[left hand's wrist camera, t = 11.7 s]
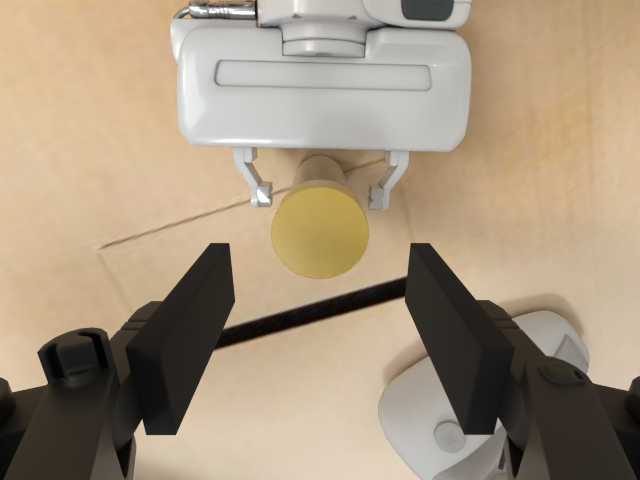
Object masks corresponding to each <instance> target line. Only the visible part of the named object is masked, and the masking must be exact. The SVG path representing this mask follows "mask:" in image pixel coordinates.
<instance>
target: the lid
mask: <svg viewBox="0 0 640 480" xmlns="http://www.w3.org/2000/svg"><path fill="white" fill-rule="evenodd" d="M271 237H272V243H273V247H274V249H275V252H276V254H277V255H278V257H279V258H280V260H281V261H282V262H283V263H284V264H285V265H286V266H287V267H288V268H289V269H291V270H292V271H294V272H295V273H297V274H299V275H302V276H305V277H309V278H314V279H326V278H332V277H336V276H338V275H341V274H343V273H345V272H346V271H348V270H349V269H351V268H352V267H353V266H354V265H355V264H356V263H357V262H358V261H359V260H360V258H361V257H362V255H363V254H364V252H365V250H366V247H367V244H368V238H369V229H368V223H367V219H366V217H365V214H364V212H363V209H362V207H361V205H360V203H359V201H358V199H357V198H356V197H355V195H354V194H353V193H352V192H351V191H350V190H349V189H347V188H346V187H345V186H343V185H341V184H339V183H336V182H334V181H330V180H323V179H319V180H310V181H306V182H304V183H301V184H299V185H297V186H296V187H294V188H293V189H291V190H290V191H289V192H288V193H287V194H286V195H285V197H284V198H283V199H282V201H281V203H280V205H279V207H278V209H277V212H276V214H275V216H274V219H273V223H272V229H271Z"/></svg>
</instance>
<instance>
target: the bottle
mask: <svg viewBox="0 0 640 480" xmlns="http://www.w3.org/2000/svg"><path fill="white" fill-rule="evenodd" d="M319 179H323V180H330V181H334V182H336V183H339V184H341V185H343V186H345V187H346V188H347V189H349V186H348V183H347V181H346V178H345V175H344V173H343V170H342V168H341V166H340V165H339V164H338V163H337V162H336V161H335V160H334V159H332V158H331V157H328V156H325V155H315V156H312V157H309V158H308V159H306V160H305V161H303V163H302V164H301V165H300V166H299V168H298V170H297V173H296V175H295V178H294V181H293V183H292V186H291V189H293V188H294V187H296V186H297V185H299V184H301V183H304V182H306V181H310V180H319ZM291 189H290V190H291ZM349 190H350V189H349Z"/></svg>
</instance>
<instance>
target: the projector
mask: <svg viewBox="0 0 640 480" xmlns="http://www.w3.org/2000/svg"><path fill="white" fill-rule="evenodd" d="M512 321H515V322H516V323H517V325H518V326H519V327H520V329H522V330H523V331H524V332H525V333H526V334H527V335H528V337H529V338H530V339H531V340H532V341H533V342H534V343H535V344H536V345H537V346H538V347H539V348H540V350H541V351H542V352H543V353H544V354H545V355H546V356H552V357H555V358H558V359H561V360H564V361H566V362H568V363H570V364H572V365H574V366H576V367H577V368H579V369H580V370H581V371H583V372H584V373H585V374H586V373H587V371H588V367H589V366H588V365H589V353H588V350H587V348H586V346H585V344H584V342H583V341H582V339H581V338H580V336H579V335H578V333H577V332H576V330H575V329H574V328H573V327H572V325H571V324H570V323H569V322H568V321H567V320H566V319H564V318H563V317H562V316H560V315H558V314H556V313H554V312H551V311H536V312H531V313H528V314H524V315H521V316H518V317H515V318H512ZM378 414H379V420H380V423H381V427H382V429H383V432H384V434H385V436H386V438H387V440H388V441H389V443H390V444H391V446H392V447H393V449H394V450H395V451H396V452H397V454H398V455H399V456H400V457H401V459H402V460H403V461H404V462H405V463H406V464H407V466H408V467H409V468H410V469H411V470H412V471H413V472H414V473H415V474H416V475H417V476H418V477H419V478H420V479H421V480H507V472H506V463H505V464H504V468H503V470H500V469H498V465H499V460H500V456H501V452H502V449H503V445H504V441H505V437H506V433H507V432H506V430H505V428H504V427H503V425H502V423H501V422H500V420H499V418H498V419H497V423H496V427H495V431H494V435H464V433H463V431H462V429H461V427H460V424H459V422H458V420H457V418H456V415H455V413H454V411H453V409H452V406H451V404H450V402H449V400H448V397H447V395H446V393H445V391H444V388H443V386H442V384H441V382H440V379H439V377H438V375H437V373H436V370H435V368H434V366H433V364H432V361H431V359H430V357H429V356H428V357H426V358H424V359H423V360H421V361H419V362H418V363H416V364H415V365H413V366H411V367H410V368H408V369H407V370H406V371H404V372H403V373H401V374H400V375H399V376H397V377H396V378H395V379H394V380H393V381H392V382H391V383H390V384H389V385H388V386H387V387H386V388H385V390H384V391H383V393H382V395H381V397H380V400H379V404H378Z"/></svg>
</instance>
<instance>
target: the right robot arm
mask: <svg viewBox="0 0 640 480" xmlns="http://www.w3.org/2000/svg"><path fill="white" fill-rule="evenodd" d="M471 3H472V0H256V1H249V0H247V1H236V0H233V1H225V2H224V1H223V2H210V1H209V0H193V1H190V2H189V4H188V7H185V8H183V9H181V10H179V11H178V12H177V13H176V15H175V16H174V17H173V19H172V21H171V24H170V38H171V46H172V54H173V57H174V61H175V63H176V65H177V66H178V70H177V116H178V127H179V131H180V133H181V134H182V135H183V136H184V138H185V139H186V140H187V141H188V142H189V143H190V144H191V145H193V146H221V147H233V157H234V164H235V165H236V167H237V168H238V170H239V171H240V173H241V174H242V176H243V178H244V179H245V181H246V182H247V184H248V185H250V191H251V205H252V207H271V205H272V203H273V195H272V193H271V192H272V190H273V187H272V182H267V181H262V179H261V178H260V176H259V174H258V172H257V171H256V169H255V167H254V166H253V164H252V162H253V161H254V160H255V159H257V147H263V148H305V149H347V150H386V153H385V161H386V162H387V163H388V164H389V165H390V167H389V168H388V170H387V171H386V173H385V175H384V176H383V178H382V179H381V181H380V182H379V184H369V189H368V192H369V194H370V195H369V197H368V207H369V209H370V210H388V209H389V203H390V193H391V189H393V187H394V186H395V185H396V183H397V182H398V180H399V179H400V178H401V176H402V175H403V173H404V172H405V171H406V169H407V168H408V164H409V156H410V151H430V152H450V151H452V150H453V149H455V148H456V146H457V145H458V144H459V143H460V142H461V141H462V140H463V138H464V137H465V134H466V129H467V123H468V117H469V108H470V98H471V81H472V61H471V54H470V51H469V48H468V45H467V43H466V42H465V40H464V39H463V38H462V37H461V36H460V35H458V34H456V33H454V32H455V31H456V30H458V29H459V28H460V27H461V26H462V25H463V24H464V23H465V22H466V21H467V19H468V16H469V13H470V9H471ZM188 14H190V16H191V17H192V18H194V19H187V18H183V17H184V16H186V15H188ZM226 19H227V20H226ZM257 19H258V22H257ZM258 27H259V28H258Z"/></svg>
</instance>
